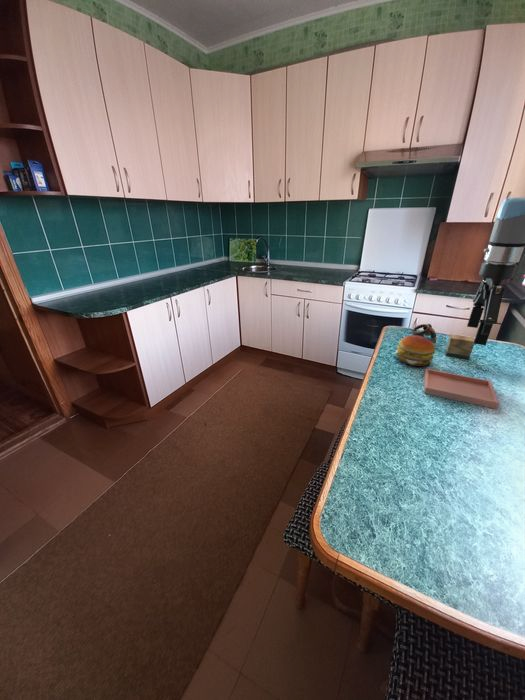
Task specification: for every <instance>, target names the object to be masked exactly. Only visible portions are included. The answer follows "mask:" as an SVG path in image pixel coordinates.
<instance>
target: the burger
mask: <svg viewBox="0 0 525 700" xmlns="http://www.w3.org/2000/svg"><path fill="white" fill-rule="evenodd" d="M396 347H397V349H396V350H395V353H394V355H395V356H397V358H398V360H399V361H401V362H403V363H404V364H406V365H409V366H416V367H424V366H427V365H429V364H430V363H431V362H432V361H433V359H434V357H435V356H434V355H435V353H436V351H435V350H436V346H435V343H434V342H432V340H430V339H429V338H427V337H425V336H424V337H422V336H416V335H415V336H412V335H407V336H404V337H403V338H401V339H400V341H399V343H398V345H397V346H396Z"/></svg>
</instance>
